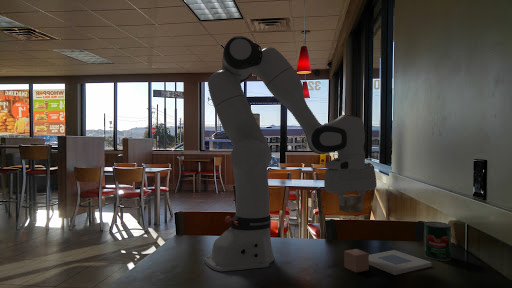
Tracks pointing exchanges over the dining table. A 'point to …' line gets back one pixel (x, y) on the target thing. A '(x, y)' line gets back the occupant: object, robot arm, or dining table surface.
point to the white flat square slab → (397, 262)
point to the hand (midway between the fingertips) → (351, 204)
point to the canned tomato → (437, 240)
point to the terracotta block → (356, 260)
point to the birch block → (352, 204)
